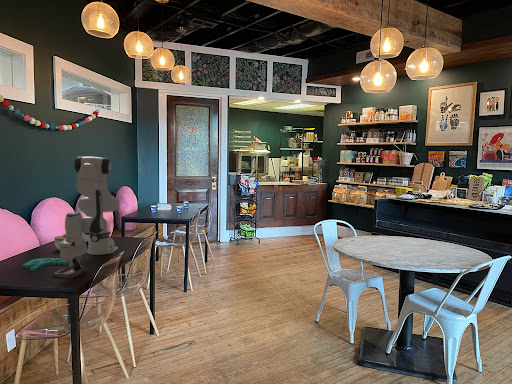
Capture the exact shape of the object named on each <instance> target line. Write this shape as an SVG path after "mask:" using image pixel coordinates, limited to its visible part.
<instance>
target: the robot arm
mask: <svg viewBox="0 0 512 384" xmlns="http://www.w3.org/2000/svg"><path fill="white" fill-rule="evenodd" d="M73 168H74V171H75V172H76V173H77V178H76V186H75V187H76V191H77V192H78V194H81V195H82V196H84V197H81V198H80V199H79V200H78V202H77V209H78V210H79V211H80V212H78V211H71V212H68V213H67V214H66V215H65V219H64V230H65V239H64V240H63V241H62V242H61V243H60V247H61V249H60V251H59V258H60V259H61V261H62V262H63V261H67V262H68V263H69V264H68V265H69V266H68V267H71V268H72V266H74V263H73V262H72V261H73V259H76V260H77V261H78V263H79V264H80V260H81V258H82V255H85V254H89V255H96V256H99V255H100V256H101V255H107V254H108V255H110V254H113V253H115V252H116V251H118V250H119V247H118V246H115V243H116V242H115V241H114V240H113V238H111V237H110V235H111V234H112V231H108V229H109V228H108V227H109V223H108V220H107V219H106V218H104V213H112V212H116V211H117V210H118V209H119V207H120V206H119V205H120V203H119V200H118V199H117V197H115V196H114V195H113V194H111V193H110V191H109V189H108V183H107V175H108V174H109V173H110V172H111V170H112V161H111V160H110V158H108V157H99V156H83V155H82V156H81V155H80V156H77V157H76V158H75V159H74V162H73ZM81 213H83V214H84V215H85V216H84V215H82V214H81ZM82 233H90V240H89V242H87V243H88V244H87V243H86V242H85V240H84V239H83V238H82ZM87 245H88V246H87Z"/></svg>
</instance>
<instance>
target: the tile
mask: <svg viewBox="0 0 512 384" xmlns="http://www.w3.org/2000/svg"><path fill="white" fill-rule="evenodd" d="M74 272H76V271H73V270H71V269H70V270H67V271H65V272H64V273H66V274H72V273H74Z"/></svg>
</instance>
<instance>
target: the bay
mask: <svg viewBox="0 0 512 384" xmlns="http://www.w3.org/2000/svg"><path fill="white" fill-rule="evenodd" d="M64 272H66V268H62V269H60V270H57V271H54V272H53V273H52V277H53V278H67V279H73V278H74V277H77V276H79V275H81V274H82V273H83V271H82V270H78V271H76V272H74V273H72V274H66V273H64Z"/></svg>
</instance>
